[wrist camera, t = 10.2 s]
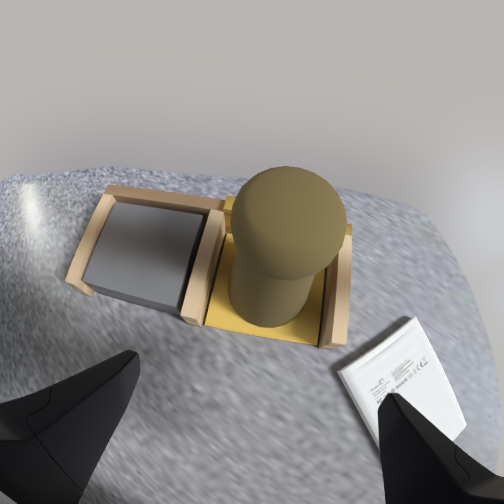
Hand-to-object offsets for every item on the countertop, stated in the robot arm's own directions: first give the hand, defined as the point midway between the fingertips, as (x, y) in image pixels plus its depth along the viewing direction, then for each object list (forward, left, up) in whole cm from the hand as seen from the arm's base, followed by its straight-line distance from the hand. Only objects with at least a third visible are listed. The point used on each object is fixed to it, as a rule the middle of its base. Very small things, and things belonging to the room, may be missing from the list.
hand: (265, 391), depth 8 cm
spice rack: (+5, +7, -10) cm, 14 cm away
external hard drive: (+5, -12, -11) cm, 17 cm away
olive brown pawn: (+7, +3, -10) cm, 13 cm away
